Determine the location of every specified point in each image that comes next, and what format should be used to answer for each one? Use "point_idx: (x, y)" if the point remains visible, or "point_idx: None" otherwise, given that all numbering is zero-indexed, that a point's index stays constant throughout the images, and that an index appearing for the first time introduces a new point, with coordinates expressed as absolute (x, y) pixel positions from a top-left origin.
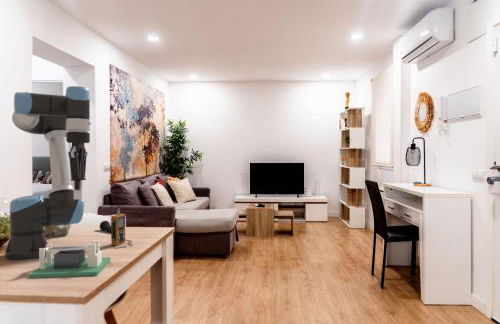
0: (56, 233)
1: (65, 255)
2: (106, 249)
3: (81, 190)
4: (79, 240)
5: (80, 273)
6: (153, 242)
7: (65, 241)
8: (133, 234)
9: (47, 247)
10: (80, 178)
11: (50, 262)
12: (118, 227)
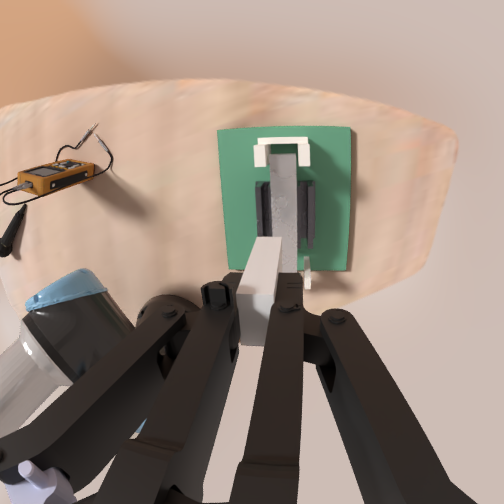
0: None
1: (313, 219)
2: (121, 178)
3: (278, 260)
4: (69, 266)
5: (350, 164)
6: (69, 92)
7: None
8: None
9: None
10: (296, 310)
11: None
12: (59, 171)
